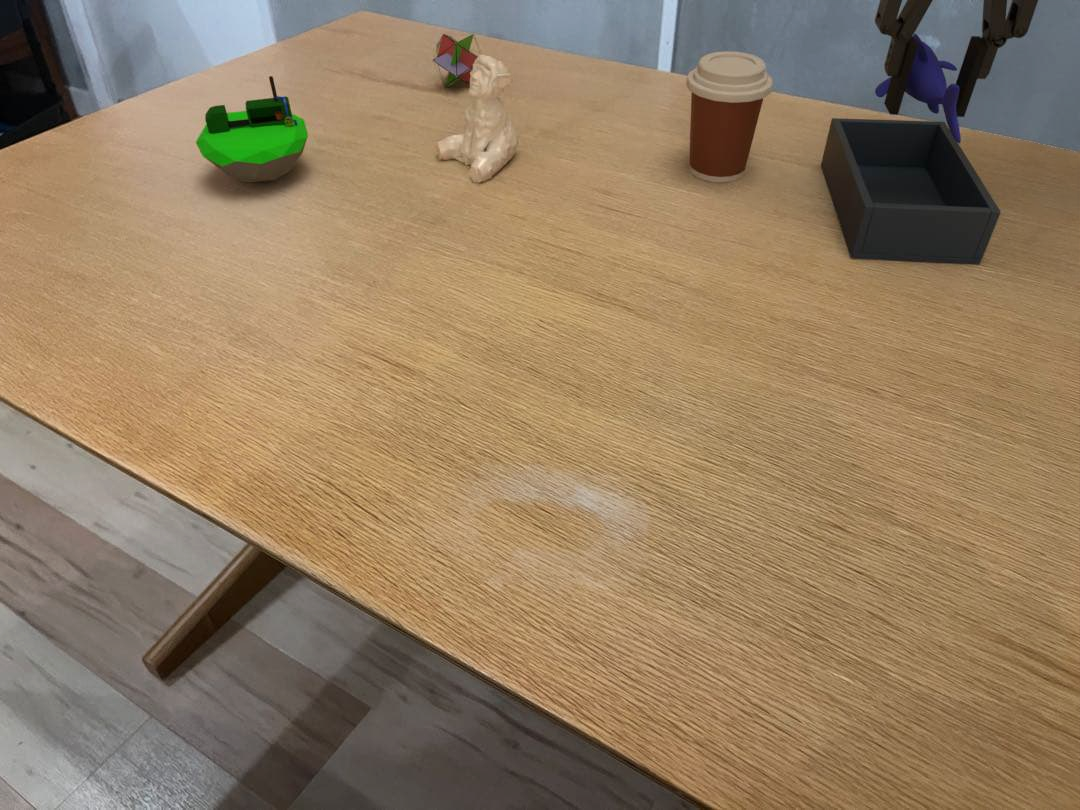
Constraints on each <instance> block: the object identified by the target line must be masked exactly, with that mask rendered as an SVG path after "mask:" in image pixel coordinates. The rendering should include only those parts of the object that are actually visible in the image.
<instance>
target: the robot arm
mask: <svg viewBox="0 0 1080 810" xmlns="http://www.w3.org/2000/svg"><path fill="white" fill-rule="evenodd" d="M933 1H934V0H906V2H905V3H904V5H903V6H902V2H903V0H879V3H878V7H877V10H876V14H875V18H874V24H875V26H876V27H877V29H878V30H879V32H880V33H881V35H884V36H885V35H886V36H889V37H890V43H889V46H888V49H887V54H886V57H885V61H884V65H883V66H884V67H883V68H884V72H885V74H886V75H887V77H891V81H890V84H889V88H888V91H887V94H886V95H885V99H884V101H883V104H884V105H885V108H886V110H887V112H888V114H889V115H891V116H893V115H897V116H898V115H899V112H900V109H901V105H902V102H903V98H904V96H905V93H906V92H905V89H906V85H907V82H908V79H909V75H910V72H911V68H912V65H913V61H914V58H915V54H916V51H917V48H918V43H917V42H916V40H915V39H914V37H913V35H914V34H915V33H916V31H917V29H918V28H919V25H920V24H921V22H922V20H923V19H924V16H925V15H926V13H927V11H928V9H929V8H930V6H931V4H932V3H933ZM1038 2H1039V0H1011V2H1010V6H1009V9H1008V12H1007V7H1008V0H983V2H982V3H983V4H982V20H981V21H982V23H981V33H982V35H981V36H977V35H976V36H975V35H972V36H970V39H969V42H968V45H967V48H966V51H965V55H964V58H963V60H962V63H961V67H960V69H959V72H958V75H957V79H956V82H955V84H956V85H958V86H959V89H960V90H959V95H958V99H957V104H956V113H957V118H964V117H965V115H966V113H967V110H968V107H969V104H970V101H971V98H972V96H973V92H974V90H975V87H976V84H977V81H978V80H986V78H987V77H988V76H989V75H990V73H991V69H992V67H993V64H994V61H995V58H996V55H997V53H998V49H1000V48H1002V47H1004V46H1005V45H1006V43H1007V41H1008V40H1010V39H1013V38H1015V39H1020V38H1023V37H1025V36H1026V35H1027V33H1028V32H1029V29H1030V26H1031V22H1032V20H1033V17H1034V14H1035V12H1036V9H1037V5H1038ZM901 6H902V9H901ZM900 9H901V11H900ZM899 12H900V13H899Z"/></svg>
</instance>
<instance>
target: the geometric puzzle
mask: <svg viewBox="0 0 1080 810" xmlns="http://www.w3.org/2000/svg"><path fill="white" fill-rule="evenodd" d="M473 38H474V39H475V41H477V38H476V36H475V33H473V34H470V35H469V36H467V37H465V38H462V39H461V40H459V41H457V40H456V39H455V38H454V37H453V36H452V35H450V34H446V33H442V35H441V37H440V38H439V40H438V42H437V43H436V51H435V52H436V54H434V56H433V57H434V58H433V59H431V61H432V62H433V64H434V66H435V68H437V67H438V70H439V74H438V75H439V78H440V80H441V82H442V84H443V87H444V89H446V88H448V87H450V85H453V84H454V83H456V82H457V81H460V80H461V81H462V82H464V83H466V84H468V85H469V86H470V77H471V75H470V72H471V71H472V70H473V64H474V62H475V60H476V59H477V57H478V56H479V55H476V54H474V52H472V51H470V50H471V46H472V42H473ZM476 46H477V50H478V53H479V54H480V55H481V54H483V53H482V52H481V51H480V50H481V49H480V48H481V47H479V44H478V42H476ZM435 55H436V57H435ZM435 64H437V66H436V65H435ZM440 67H441V68H443V69H444V70H445V71H447V72H448V73H447V78H446V81H445V83H444V80H443V76H442V73H441V72H442V71H441V70H440ZM440 75H441V76H440Z"/></svg>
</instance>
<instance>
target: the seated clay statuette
mask: <svg viewBox="0 0 1080 810" xmlns="http://www.w3.org/2000/svg"><path fill="white" fill-rule="evenodd" d="M477 56H478V57H477V59H476V60H475V62H474V64H473V70H472V71H471V72H470V75H471V77H470V85H469V89H468V93H467V94H468V95H469V97H468V101H467V107H466V108H465V109H464V111H463V116H464V121H465V125H464V127H465V131H464V133H459V134H452V135H449V136H444V138H443V139H441V140H439V141H436V142H435V149H436V153H437V154H436V155H437V157H438V160H444V161H447V160H456V161H458V162H460V163H462V164H463V165H465V166H469V167H470V169H469V175H470V178H471V179H472V181H473V183H477V184H480V183H484V182H486V181H488V180H492V177H493V176H494V175H495V174H496V173H498V171H499V170H502V168H503V167H504V166H506V165H507V163H508V162H509V161H510V160H511V159H512V158H513V157H514V155H515V154H516V149H517V147H518V145H519V139H520V136H519V134H518V133H517V131H516V128H515V126H513V122H512V120H510V116H509V114H508V113H509V111H508V109H507V107H506V106H505V104H504V101H503V100H502V99H501V98H500V97H501V96H502V94H503V93H504V92H505V89H506V88H508V87H509V86H510V85H511V84H512V82H513V74H512V72H511V73H510V72H509V70H508V67H506V66H505V64H504V63H503V62H502V61H501V60H497V58H496V57H492V56H491V55H485V54H484V53H482V54H481V53H480V54H478V55H477Z"/></svg>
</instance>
